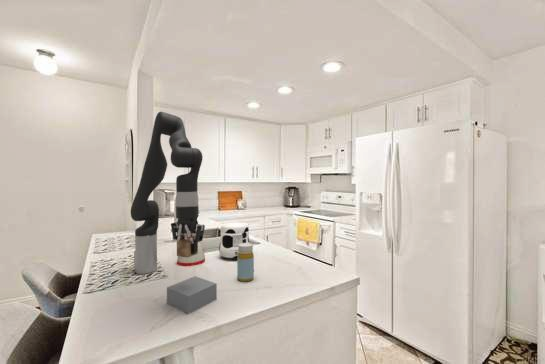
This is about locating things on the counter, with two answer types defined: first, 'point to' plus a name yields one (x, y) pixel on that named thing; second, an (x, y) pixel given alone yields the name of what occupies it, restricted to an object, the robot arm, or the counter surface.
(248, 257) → the bottle
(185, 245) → the walnut cube
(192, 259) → the kitchen timer
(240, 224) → the milk container
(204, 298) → the gray square block
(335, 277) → the counter surface
